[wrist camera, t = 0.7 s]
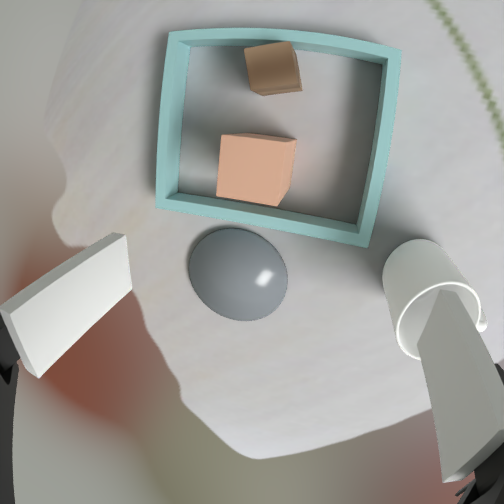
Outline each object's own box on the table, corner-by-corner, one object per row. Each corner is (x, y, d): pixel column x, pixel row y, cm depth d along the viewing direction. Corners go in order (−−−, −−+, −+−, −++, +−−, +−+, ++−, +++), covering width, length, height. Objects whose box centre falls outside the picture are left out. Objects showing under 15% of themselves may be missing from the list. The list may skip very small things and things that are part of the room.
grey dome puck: (192, 219, 34) (190, 221, 34) (295, 239, 32) (295, 241, 32) (190, 305, 39) (188, 307, 39) (278, 327, 37) (278, 330, 37)
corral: (182, 38, 26) (169, 31, 23) (395, 57, 22) (401, 50, 19) (168, 201, 34) (155, 207, 32) (364, 237, 30) (367, 248, 28)
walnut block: (257, 60, 26) (243, 48, 21) (296, 54, 25) (289, 41, 20) (262, 96, 27) (250, 90, 23) (302, 90, 26) (297, 83, 22)
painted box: (246, 132, 29) (219, 134, 22) (296, 139, 28) (285, 142, 21) (241, 179, 31) (214, 195, 24) (289, 187, 30) (277, 206, 23)
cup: (397, 226, 29) (423, 268, 20) (481, 259, 27) (520, 305, 18) (369, 292, 33) (379, 350, 23) (450, 317, 31) (475, 372, 22)
